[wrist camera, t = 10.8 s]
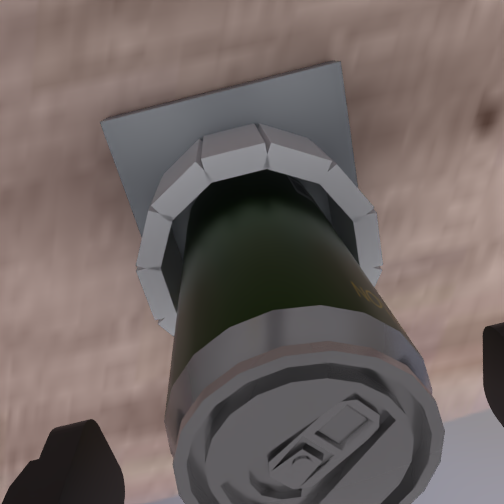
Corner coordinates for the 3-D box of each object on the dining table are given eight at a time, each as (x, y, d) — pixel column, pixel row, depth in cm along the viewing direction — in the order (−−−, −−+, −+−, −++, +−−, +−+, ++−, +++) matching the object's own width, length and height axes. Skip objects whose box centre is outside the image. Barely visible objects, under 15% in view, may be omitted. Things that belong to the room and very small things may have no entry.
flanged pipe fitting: (106, 117, 18) (69, 142, 13) (333, 60, 18) (375, 64, 13) (185, 340, 23) (178, 417, 18) (366, 296, 22) (408, 363, 18)
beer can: (245, 132, 17) (306, 276, 7) (341, 216, 19) (514, 437, 8) (161, 233, 19) (97, 489, 8) (258, 302, 21) (314, 589, 10)
